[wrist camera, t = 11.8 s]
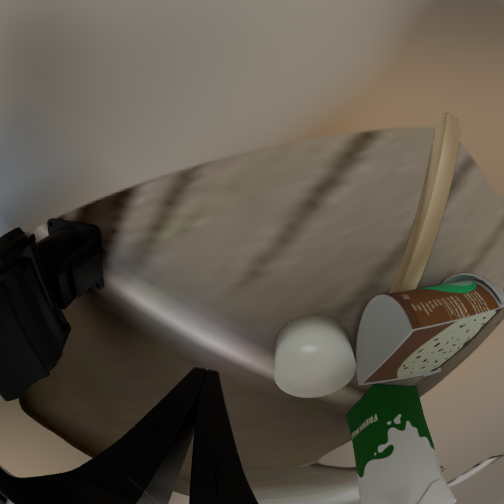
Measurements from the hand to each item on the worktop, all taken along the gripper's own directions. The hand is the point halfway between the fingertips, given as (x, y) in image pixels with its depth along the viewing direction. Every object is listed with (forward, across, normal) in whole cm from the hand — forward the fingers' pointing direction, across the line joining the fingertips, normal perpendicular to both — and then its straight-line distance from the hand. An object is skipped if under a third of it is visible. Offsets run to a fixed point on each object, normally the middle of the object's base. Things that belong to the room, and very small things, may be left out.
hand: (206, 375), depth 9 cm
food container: (+9, -10, +4) cm, 14 cm away
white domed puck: (+13, -8, +9) cm, 18 cm away
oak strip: (+13, -14, -5) cm, 20 cm away
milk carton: (+13, -20, +19) cm, 30 cm away
